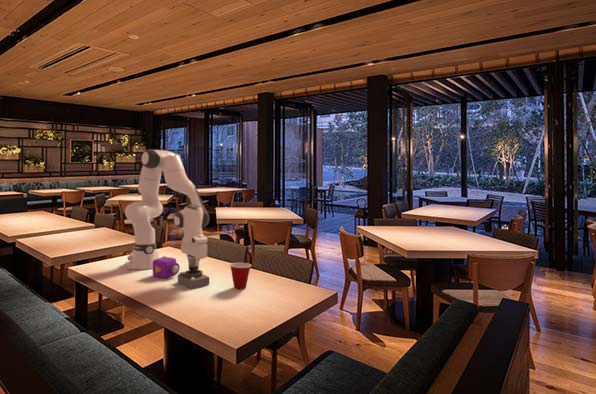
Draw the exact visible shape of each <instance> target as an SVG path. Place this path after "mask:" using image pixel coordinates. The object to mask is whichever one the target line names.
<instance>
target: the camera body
mask: <svg viewBox="0 0 596 394" xmlns="http://www.w3.org/2000/svg"><path fill="white" fill-rule="evenodd" d="M203 273H204V272H203V270H201V269H198V270H189V269H187V270H185V272H184V271H182V272H179V273H178V274H177V283H178V284H181V285H183V286H185V287H187V288H189V289H191V290H192V289H197V288H201V287H205V286H210V276H209V275H205V274H203Z"/></svg>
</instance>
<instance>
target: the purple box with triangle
mask: <svg viewBox="0 0 596 394" xmlns="http://www.w3.org/2000/svg"><path fill="white" fill-rule="evenodd" d="M180 268H181V267H180V264H179V263H178V262H177V259H176V258H174V257H167V256H166V255H163V256H162V257H159V258H158V259H155V260H153V268H152V276H153V277H156V278H161V279H167V278H169V277H173V276H175V275H178V274H179V273H180Z"/></svg>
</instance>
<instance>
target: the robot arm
mask: <svg viewBox="0 0 596 394" xmlns="http://www.w3.org/2000/svg"><path fill="white" fill-rule="evenodd" d="M140 161H141V163H142V168H141V170H140V175H139V180H138V181H139V182H138V186H137V187H138V188H137V190H138V192H139V194H140V195H141V201H135V202H134V201H133V202H131V203H130V204H128V205H127V206H125V209H124V213H125V214H124V215H125V217H126V219H127V220H129V221H130V222H131V224H132V227H133V232H134V244H133V250H132V251H131V253H130V254H129V255H128V256H127V261H126V262H124V265H125V266H126V268H127V269H128V270H139V271H141V270H151V269H153V260H155V259H158V258H160V257H159V251H158V250H157V243H156V229H155V228H154V226H152V225H151V223H150V222H151V221H150V219H151V220H152V219H155V218H157V217H159V216H160V215H162V213H163V210H164V208H163V207H164V206H163V204H162V203H161V202H160V198H159V191H160V183H161V177H162V173H163V177H164V181H165V184H166V186H167V188H169V189H171V190H173V191H174V192H178V193H181V194H183V195H186V196H187V197H188V198H189V199H190V202H191V204H188V205H185V206H184V209H183V208H182V209H181V210H179V211H176V212H175V213H174V215H173V224H174V226H175V227H176V228H177V229H178V230H179V229H180V230H184V232H183V233H184V234H183V236H182V238H181V244H180V245H181V246H180V251H181V253H183V254H184V255H185V254H186V257H187V259H188V256H189V255H191V256H194V257H195V259H196V261H195V265H196V266H198V265H199V266H200V260H201V259H207V256H208V244H207V243H208V242H209V241H208V237H206V235H204V234H203V228H206V226H207V225H208V224H209V222H210V215H209V213H208V211H207V209H206V207H205V205H204V203H203V201H202V198H201V196H200V194H199V191H198V189H197V187H196V185H195V184H194V183H193V182H192V181H191V180H190V179H189V178H188V175H187V174H186V173H187V172H186V171H185V167H184V165H183V162H182V157H181V155H180V154H179V153H177V152H174V151H169V150H165V149H163V150H161V149H152V148H149V149H145V150H144V151H143V152H142V154H141V158H140ZM187 261H188V260H187ZM188 264H189V261H188Z"/></svg>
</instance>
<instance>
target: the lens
mask: <svg viewBox="0 0 596 394" xmlns="http://www.w3.org/2000/svg"><path fill="white" fill-rule="evenodd" d="M187 261H189V263H188V270H200V267H199V266H200V264H199V265H198V266H196V265H195V261H196V259H195V257H194V256H191V255H189V256H188V258H187Z"/></svg>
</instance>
